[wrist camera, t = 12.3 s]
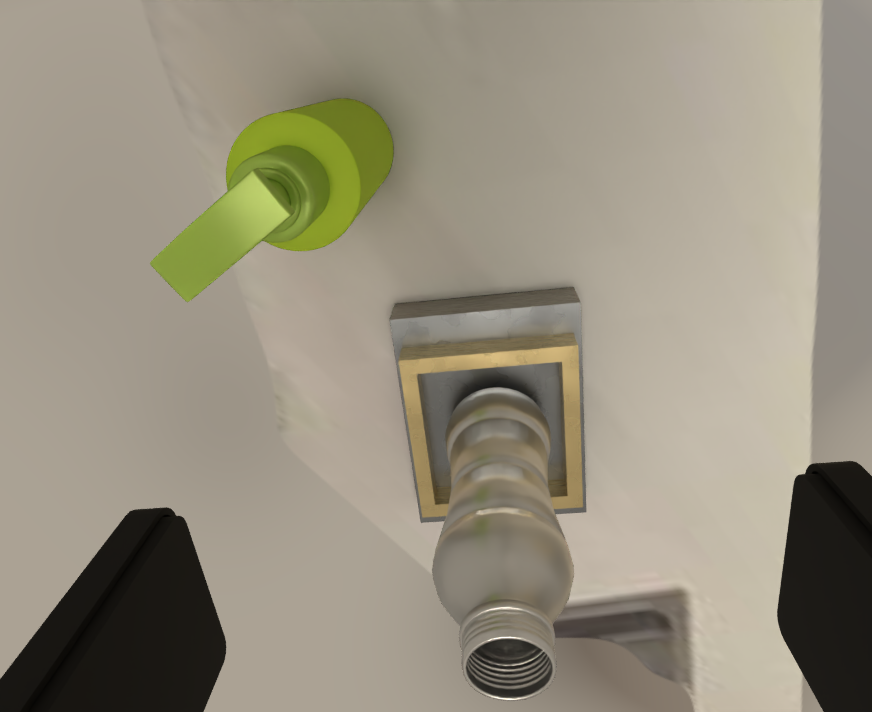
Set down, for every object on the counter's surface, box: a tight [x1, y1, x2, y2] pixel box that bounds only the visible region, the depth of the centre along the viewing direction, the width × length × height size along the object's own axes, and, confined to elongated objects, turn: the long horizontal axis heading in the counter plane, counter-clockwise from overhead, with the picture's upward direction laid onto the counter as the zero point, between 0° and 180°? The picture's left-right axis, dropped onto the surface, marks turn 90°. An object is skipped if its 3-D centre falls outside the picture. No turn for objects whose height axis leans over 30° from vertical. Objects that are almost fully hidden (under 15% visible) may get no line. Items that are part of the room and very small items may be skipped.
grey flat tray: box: [390, 287, 586, 523], centre depth 44 cm, size 16×12×5 cm
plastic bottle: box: [432, 387, 574, 701], centre depth 34 cm, size 6×7×20 cm
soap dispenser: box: [150, 99, 393, 302], centre depth 31 cm, size 6×7×20 cm
